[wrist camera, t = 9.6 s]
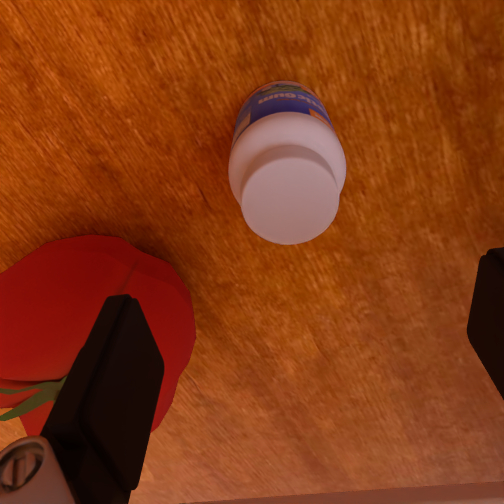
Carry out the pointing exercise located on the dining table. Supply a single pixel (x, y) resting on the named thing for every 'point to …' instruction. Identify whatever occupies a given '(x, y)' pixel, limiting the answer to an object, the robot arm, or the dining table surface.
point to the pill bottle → (286, 163)
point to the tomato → (82, 318)
